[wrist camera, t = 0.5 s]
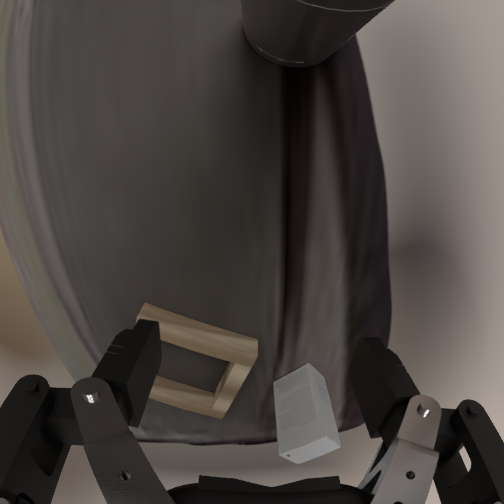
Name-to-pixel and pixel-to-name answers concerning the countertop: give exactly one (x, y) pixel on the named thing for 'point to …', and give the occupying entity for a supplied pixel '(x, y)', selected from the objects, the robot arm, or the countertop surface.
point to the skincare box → (304, 416)
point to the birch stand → (209, 343)
